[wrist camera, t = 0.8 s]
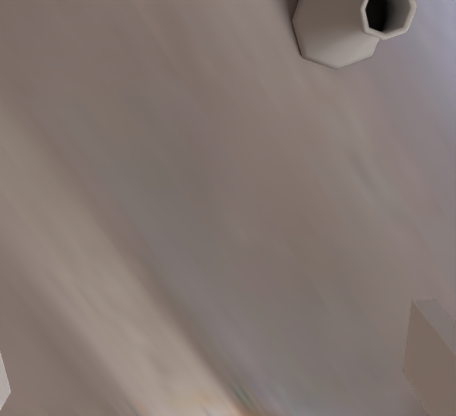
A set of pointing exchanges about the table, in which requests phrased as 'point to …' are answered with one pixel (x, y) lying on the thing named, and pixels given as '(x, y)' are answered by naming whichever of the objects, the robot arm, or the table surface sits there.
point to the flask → (348, 28)
